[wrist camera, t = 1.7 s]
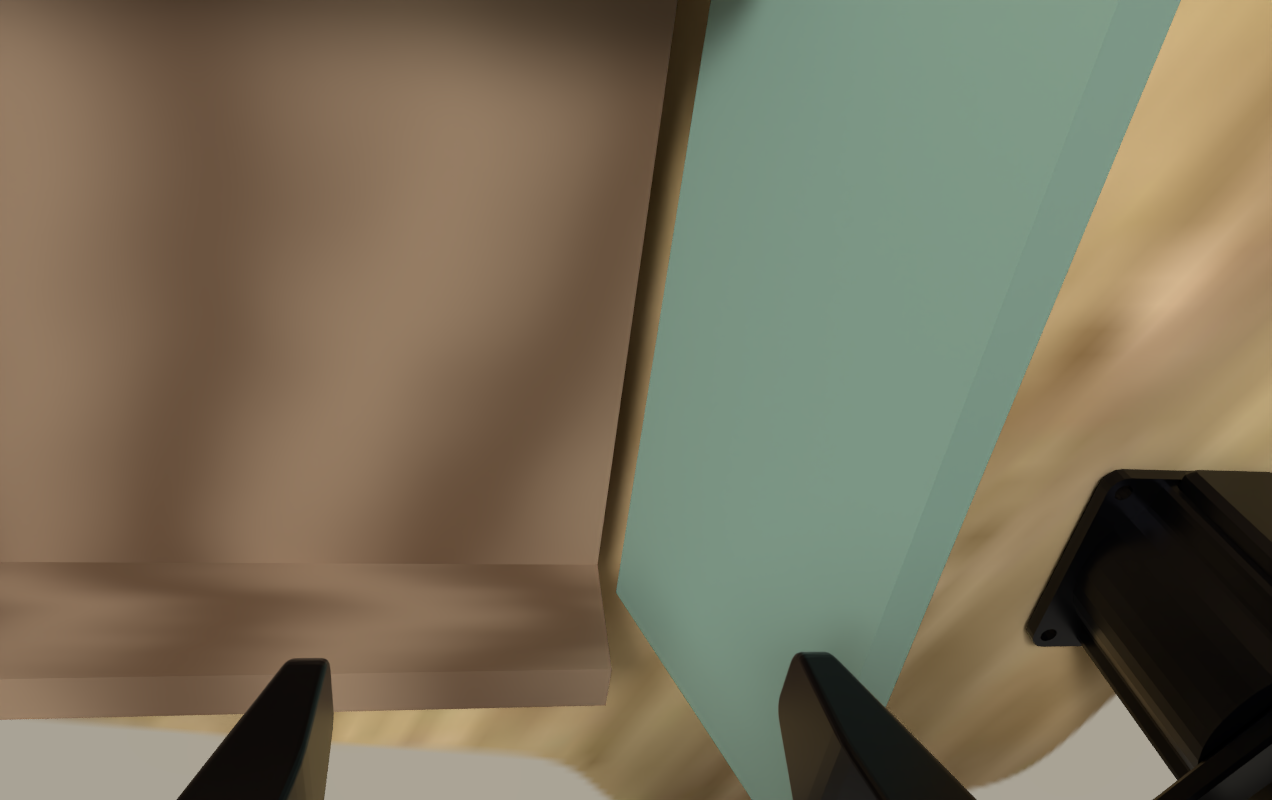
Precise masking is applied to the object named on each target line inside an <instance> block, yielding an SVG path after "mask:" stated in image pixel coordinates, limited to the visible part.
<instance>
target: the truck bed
mask: <svg viewBox="0 0 1272 800" xmlns="http://www.w3.org/2000/svg"><path fill="white" fill-rule="evenodd" d="M677 2H678V0H0V720H7V719H49V718H91V717H133V716H175V715H217V714H245V712H246V711H247V710H248V709H249V707H250V706H251V705H252V704H253V702H254V701H255V700H256V699H257V697H258V696H259V695H260V693H261V692H262V691H263V690H264V688H265V687H266V686H267V685H268V683H269V682H270V681H271V680H272V678H273V677H274V676H275V674H276V673H277V672H278V671H279V669H280V668H281V667H282V666H283V665H284V663H285V662H287V661H288V660H290V659H294V658H324V659H326V660H328V662H329V664H330V669H331V683H332V696H333V712H342V711H384V710H426V709H468V708H510V707H552V706H594V705H606V701H607V695H608V689H609V683H610V677H611V671H612V667H611V660H610V653H609V645H608V638H607V631H606V623H605V616H604V609H603V602H602V594H601V587H600V580H599V572H598V565H597V564H598V557H599V550H600V543H601V536H602V529H603V522H604V515H605V508H606V501H607V494H608V487H609V480H610V473H611V466H612V459H613V452H614V445H615V438H616V431H617V424H618V417H619V410H620V402H621V395H622V388H623V381H624V374H625V367H626V360H627V353H628V346H629V339H630V332H631V325H632V318H633V311H634V304H635V297H636V290H637V283H638V276H639V269H640V262H641V255H642V248H643V241H644V234H645V227H646V220H647V213H648V206H649V199H650V191H651V184H652V177H653V170H654V163H655V156H656V149H657V142H658V135H659V128H660V121H661V114H662V107H663V100H664V93H665V86H666V79H667V72H668V65H669V58H670V51H671V44H672V37H673V30H674V23H675V16H676V9H677Z"/></svg>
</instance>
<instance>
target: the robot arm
mask: <svg viewBox="0 0 1272 800" xmlns="http://www.w3.org/2000/svg"><path fill="white" fill-rule="evenodd" d="M1026 631H1027V634H1028V635H1029V637H1030V638H1031V640H1032V641H1033V643H1034V644H1036V645H1037V646H1042V647H1046V646H1083V648H1084V649H1085V651H1086V652H1087V653H1088V655H1089V656H1090V658H1091V659H1092V660H1093V662H1094V663H1095V665H1096V666H1097V668H1098V669H1099V670H1100V672H1101V673H1102V675H1103V676H1104V677H1105V679H1106V680H1107V682H1108V683H1109V684H1110V686H1111V687H1112V689H1113V690H1114V692H1115V693H1116V694H1117V696H1118V697H1119V699H1120V700H1121V701H1122V703H1123V704H1124V705H1125V707H1126V708H1127V710H1128V711H1129V713H1130V714H1131V716H1132V717H1133V718H1134V720H1135V721H1136V723H1137V724H1138V725H1139V727H1140V728H1141V730H1142V731H1143V732H1144V734H1145V735H1146V737H1147V738H1148V740H1149V741H1150V742H1151V744H1152V745H1153V746H1154V748H1155V749H1156V751H1157V752H1158V753H1159V755H1160V756H1161V758H1162V759H1163V761H1164V762H1165V764H1166V765H1167V766H1168V768H1169V769H1170V771H1171V772H1172V773H1173V775H1174V776H1175V778H1176V779H1177V780H1178V781H1176V782H1175V783H1174V784H1172V785H1171V786H1170V787H1169V788H1167V789H1166V790H1165V791H1163V792H1162V793H1161V794H1160V795H1158V796H1157V797H1156V798H1155V799H1153V800H1272V473H1270V472H1246V471H1209V470H1196V471H1169V470H1131V469H1121V470H1115V471H1113V472H1111V473H1109V474H1108V475H1106V476H1105V477H1104V478H1103V479H1102V480H1101V482H1100V483H1099V485H1098V487H1097V489H1096V491H1095V493H1094V495H1093V497H1092V499H1091V500H1090V502H1089V504H1088V506H1087V508H1086V510H1085V512H1084V514H1083V516H1082V518H1081V520H1080V522H1079V524H1078V526H1077V528H1076V530H1075V532H1074V534H1073V536H1072V538H1071V540H1070V542H1069V544H1068V546H1067V548H1066V550H1065V552H1064V554H1063V556H1062V558H1061V560H1060V562H1059V564H1058V566H1057V568H1056V570H1055V572H1054V574H1053V575H1052V577H1051V579H1050V581H1049V583H1048V585H1047V587H1046V589H1045V591H1044V593H1043V595H1042V597H1041V599H1040V601H1039V603H1038V605H1037V607H1036V609H1035V611H1034V613H1033V615H1032V617H1031V619H1030V621H1029V623H1028V625H1027V628H1026ZM778 717H779V723H780V729H781V735H782V741H783V746H784V752H785V758H786V764H787V769H788V775H789V781H790V787H791V792H792V798H793V800H976V799H975V798H974V797H973V796H972V795H971V794H970V793H969V792H968V791H967V790H966V789H965V788H964V787H963V786H962V785H961V784H960V783H959V782H958V780H957V779H956V778H955V777H954V776H953V775H952V774H951V773H950V772H949V771H948V770H947V769H946V768H945V767H944V766H943V765H942V764H941V763H940V762H939V761H938V760H937V759H936V758H935V757H934V756H933V755H932V754H931V753H930V752H929V751H928V750H927V749H926V748H925V747H924V746H923V745H922V744H921V743H920V742H919V741H918V740H917V739H916V738H915V737H914V736H913V735H912V734H911V733H910V732H909V731H908V730H907V729H906V728H905V727H904V726H903V725H902V724H901V723H900V722H899V721H898V720H897V719H896V718H895V717H894V716H893V715H892V714H891V713H890V712H889V711H888V710H887V709H886V708H885V707H884V706H883V705H882V704H881V703H880V702H879V701H878V700H877V699H876V698H875V697H874V696H873V695H872V694H871V693H870V691H869V690H868V689H867V688H866V687H865V686H864V685H863V684H862V683H861V682H860V681H859V680H858V679H857V678H856V677H855V676H854V675H853V674H852V673H851V672H850V671H849V670H848V669H847V668H846V667H845V666H844V665H843V664H842V663H841V662H840V661H839V660H838V659H837V658H836V657H835V656H834V655H832V654H830V653H828V652H823V651H822V652H798V653H796V654H795V655H794V656H793V658H792V660H791V663H790V666H789V669H788V672H787V675H786V678H785V681H784V684H783V688H782V691H781V694H780V697H779V703H778ZM332 730H333V696H332V683H331V669H330V664H329V662H328V660H326V659H324V658H294V659H290V660H288V661H287V662H285V663H284V665H283V666H282V667H281V668H280V669H279V671H278V672H277V673H276V674H275V676H274V677H273V678H272V680H271V681H270V682H269V683H268V685H267V686H266V687H265V688H264V690H263V691H262V692H261V693H260V695H259V696H258V697H257V699H256V700H255V701H254V702H253V704H252V705H251V706H250V707H249V709H248V710H247V711H246V712H245V714H244V715H243V716H242V718H241V719H240V720H239V721H238V723H237V724H236V725H235V726H234V728H233V729H232V730H231V731H230V733H229V734H228V735H227V737H226V738H225V739H224V740H223V742H222V743H221V744H220V746H219V747H218V748H217V749H216V751H215V752H214V753H213V754H212V756H211V757H210V758H209V759H208V761H207V762H206V763H205V765H204V766H203V767H202V768H201V770H200V771H199V772H198V773H197V775H196V776H195V777H194V778H193V780H192V781H191V782H190V783H189V785H188V786H187V787H186V789H185V790H184V791H183V792H182V794H181V795H180V796H179V797H178V799H177V800H324V795H325V787H326V779H327V771H328V763H329V754H330V747H331V739H332Z"/></svg>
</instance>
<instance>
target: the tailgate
mask: <svg viewBox="0 0 1272 800" xmlns="http://www.w3.org/2000/svg"><path fill="white" fill-rule="evenodd" d="M1180 1H1181V0H711V3H710V9H709V15H708V21H707V28H706V34H705V40H704V46H703V53H702V59H701V65H700V71H699V78H698V84H697V90H696V96H695V103H694V109H693V115H692V121H691V127H690V134H689V140H688V146H687V152H686V159H685V165H684V171H683V177H682V184H681V190H680V196H679V202H678V209H677V215H676V221H675V227H674V233H673V240H672V246H671V252H670V258H669V265H668V271H667V277H666V283H665V290H664V296H663V302H662V308H661V315H660V321H659V327H658V333H657V340H656V346H655V352H654V358H653V364H652V371H651V377H650V383H649V389H648V396H647V402H646V408H645V414H644V421H643V427H642V433H641V439H640V446H639V452H638V458H637V464H636V470H635V477H634V483H633V489H632V495H631V502H630V508H629V514H628V520H627V527H626V533H625V539H624V545H623V552H622V558H621V564H620V570H619V577H618V583H617V589H616V593H617V595H618V596H619V598H620V599H621V601H622V602H623V604H624V606H625V607H626V609H627V610H628V612H629V613H630V615H631V616H632V618H633V619H634V621H635V622H636V624H637V625H638V627H639V628H640V630H641V631H642V633H643V635H644V636H645V638H646V639H647V641H648V642H649V644H650V645H651V647H652V648H653V650H654V651H655V653H656V654H657V656H658V657H659V659H660V660H661V662H662V663H663V665H664V667H665V668H666V670H667V671H668V673H669V674H670V676H671V677H672V679H673V680H674V682H675V683H676V685H677V686H678V688H679V689H680V691H681V692H682V694H683V695H684V697H685V699H686V700H687V702H688V703H689V705H690V706H691V708H692V709H693V711H694V712H695V714H696V715H697V717H698V718H699V720H700V721H701V723H702V724H703V726H704V728H705V729H706V731H707V732H708V734H709V735H710V737H711V738H712V740H713V741H714V743H715V744H716V746H717V747H718V749H719V750H720V752H721V753H722V755H723V756H724V758H725V760H726V761H727V763H728V764H729V766H730V767H731V769H732V770H733V772H734V773H735V775H736V776H737V778H738V779H739V781H740V782H741V784H742V785H743V787H744V789H745V790H746V792H747V793H748V795H749V796H750V798H751V799H752V800H793V798H792V792H791V787H790V781H789V775H788V769H787V764H786V758H785V752H784V746H783V741H782V735H781V729H780V723H779V717H778V703H779V697H780V694H781V691H782V688H783V684H784V681H785V678H786V675H787V672H788V669H789V666H790V663H791V660H792V658H793V656H794V655H795V654H796V653H798V652H822V651H823V652H828V653H830V654H832V655H834V656H835V657H836V658H837V659H838V660H839V661H840V662H841V663H842V664H843V665H844V666H845V667H846V668H847V669H848V670H849V671H850V672H851V673H852V674H853V675H854V676H855V677H856V678H857V679H858V680H859V681H860V682H861V683H862V684H863V685H864V686H865V687H866V688H867V689H868V690H869V691H870V693H871V694H872V695H873V696H874V697H875V698H876V699H877V700H878V701H879V702H880V703H881V704H882V705H883V706H884V707H885V708H886V705H887V703H888V700H889V698H890V696H891V693H892V691H893V688H894V686H895V684H896V681H897V679H898V676H899V674H900V672H901V669H902V667H903V664H904V662H905V660H906V657H907V655H908V653H909V650H910V648H911V645H912V643H913V641H914V638H915V636H916V633H917V631H918V629H919V626H920V624H921V621H922V619H923V617H924V614H925V612H926V609H927V607H928V605H929V602H930V600H931V597H932V595H933V593H934V590H935V588H936V585H937V583H938V581H939V578H940V576H941V573H942V571H943V569H944V566H945V564H946V561H947V559H948V557H949V554H950V552H951V549H952V547H953V545H954V542H955V540H956V538H957V535H958V533H959V530H960V528H961V526H962V523H963V521H964V518H965V516H966V514H967V511H968V509H969V506H970V504H971V502H972V499H973V497H974V494H975V492H976V490H977V487H978V485H979V482H980V480H981V478H982V475H983V473H984V470H985V468H986V466H987V463H988V461H989V458H990V456H991V454H992V451H993V449H994V446H995V444H996V442H997V439H998V437H999V434H1000V432H1001V430H1002V427H1003V425H1004V423H1005V420H1006V418H1007V415H1008V413H1009V411H1010V408H1011V406H1012V403H1013V401H1014V399H1015V396H1016V394H1017V391H1018V389H1019V387H1020V384H1021V382H1022V379H1023V377H1024V375H1025V372H1026V370H1027V367H1028V365H1029V363H1030V360H1031V358H1032V355H1033V353H1034V351H1035V348H1036V346H1037V343H1038V341H1039V339H1040V336H1041V334H1042V331H1043V329H1044V327H1045V324H1046V322H1047V319H1048V317H1049V315H1050V312H1051V310H1052V308H1053V305H1054V303H1055V300H1056V298H1057V296H1058V293H1059V291H1060V288H1061V286H1062V284H1063V281H1064V279H1065V276H1066V274H1067V272H1068V269H1069V267H1070V264H1071V262H1072V260H1073V257H1074V255H1075V252H1076V250H1077V248H1078V245H1079V243H1080V240H1081V238H1082V236H1083V233H1084V231H1085V228H1086V226H1087V224H1088V221H1089V219H1090V216H1091V214H1092V212H1093V209H1094V207H1095V204H1096V202H1097V200H1098V197H1099V195H1100V193H1101V190H1102V188H1103V185H1104V183H1105V181H1106V178H1107V176H1108V173H1109V171H1110V169H1111V166H1112V164H1113V161H1114V159H1115V157H1116V154H1117V152H1118V149H1119V147H1120V145H1121V142H1122V140H1123V137H1124V135H1125V133H1126V130H1127V128H1128V125H1129V123H1130V121H1131V118H1132V116H1133V113H1134V111H1135V109H1136V106H1137V104H1138V101H1139V99H1140V97H1141V94H1142V92H1143V89H1144V87H1145V85H1146V82H1147V80H1148V78H1149V75H1150V73H1151V70H1152V68H1153V66H1154V63H1155V61H1156V58H1157V56H1158V54H1159V51H1160V49H1161V46H1162V44H1163V42H1164V39H1165V37H1166V34H1167V32H1168V30H1169V27H1170V25H1171V22H1172V20H1173V18H1174V15H1175V13H1176V10H1177V8H1178V6H1179V3H1180Z"/></svg>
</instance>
